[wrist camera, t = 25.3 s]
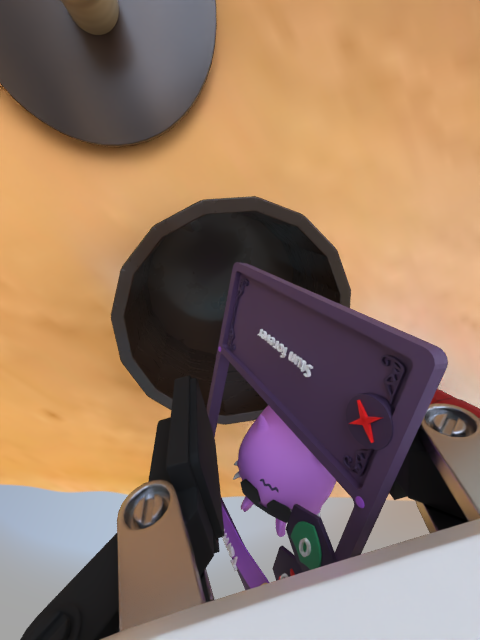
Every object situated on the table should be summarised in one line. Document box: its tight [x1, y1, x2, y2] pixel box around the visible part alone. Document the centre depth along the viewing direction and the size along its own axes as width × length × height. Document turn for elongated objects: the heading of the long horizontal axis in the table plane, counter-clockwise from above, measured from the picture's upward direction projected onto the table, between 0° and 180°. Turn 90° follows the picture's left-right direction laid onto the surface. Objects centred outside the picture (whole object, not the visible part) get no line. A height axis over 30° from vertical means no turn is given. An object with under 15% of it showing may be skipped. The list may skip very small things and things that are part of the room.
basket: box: [111, 196, 351, 425], centre depth 22 cm, size 14×14×10 cm
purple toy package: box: [206, 262, 448, 590], centre depth 9 cm, size 7×5×9 cm
